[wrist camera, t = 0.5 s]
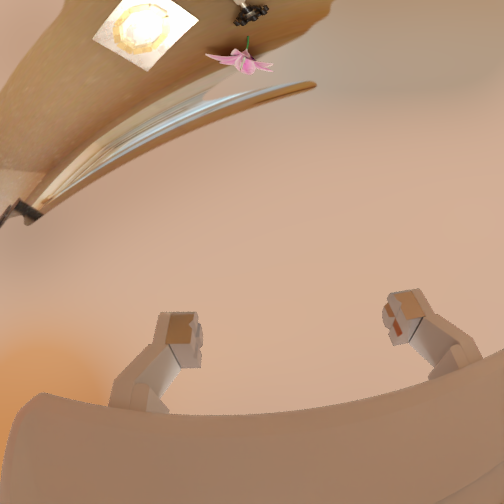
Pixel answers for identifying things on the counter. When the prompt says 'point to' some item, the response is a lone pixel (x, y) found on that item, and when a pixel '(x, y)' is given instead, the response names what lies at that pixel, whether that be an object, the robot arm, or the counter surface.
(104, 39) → the flange
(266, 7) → the valve
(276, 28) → the counter surface
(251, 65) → the lily
